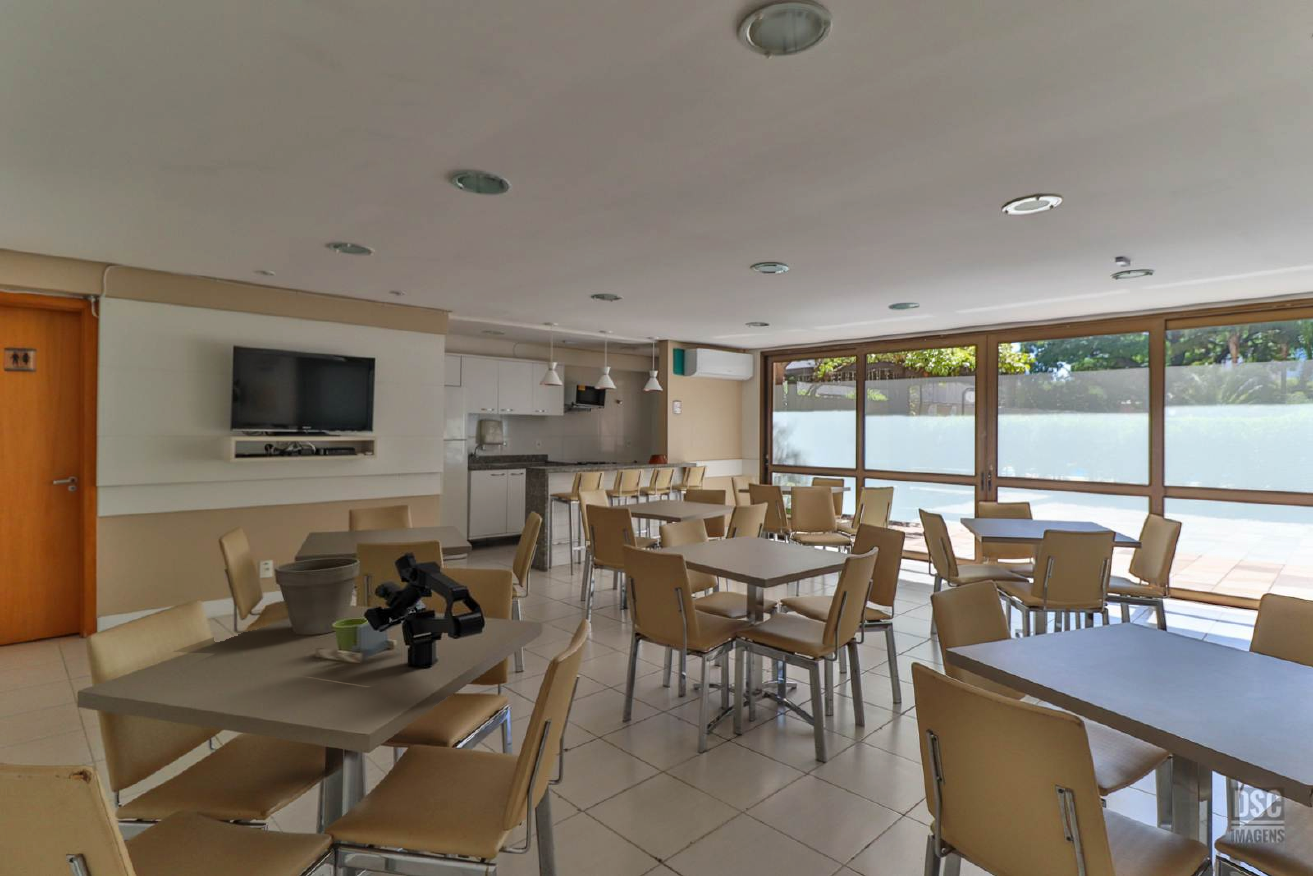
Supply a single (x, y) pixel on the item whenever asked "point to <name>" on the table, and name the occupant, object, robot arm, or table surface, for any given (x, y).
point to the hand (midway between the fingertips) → (380, 630)
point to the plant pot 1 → (317, 592)
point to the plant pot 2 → (347, 632)
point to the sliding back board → (370, 641)
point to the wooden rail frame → (347, 653)
